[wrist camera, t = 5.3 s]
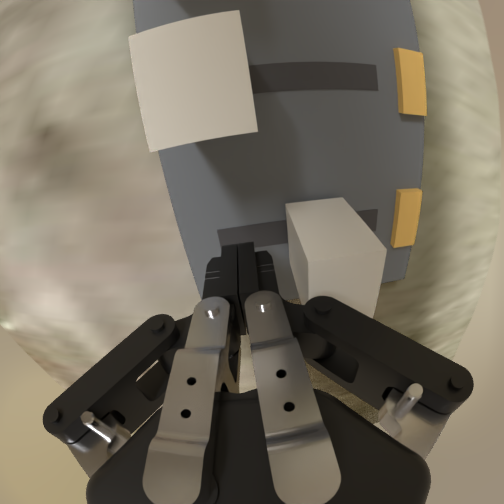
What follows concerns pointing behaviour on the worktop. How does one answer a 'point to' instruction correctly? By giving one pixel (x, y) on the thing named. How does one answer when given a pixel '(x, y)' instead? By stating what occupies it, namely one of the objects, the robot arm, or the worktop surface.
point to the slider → (334, 253)
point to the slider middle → (193, 80)
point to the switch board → (306, 129)
